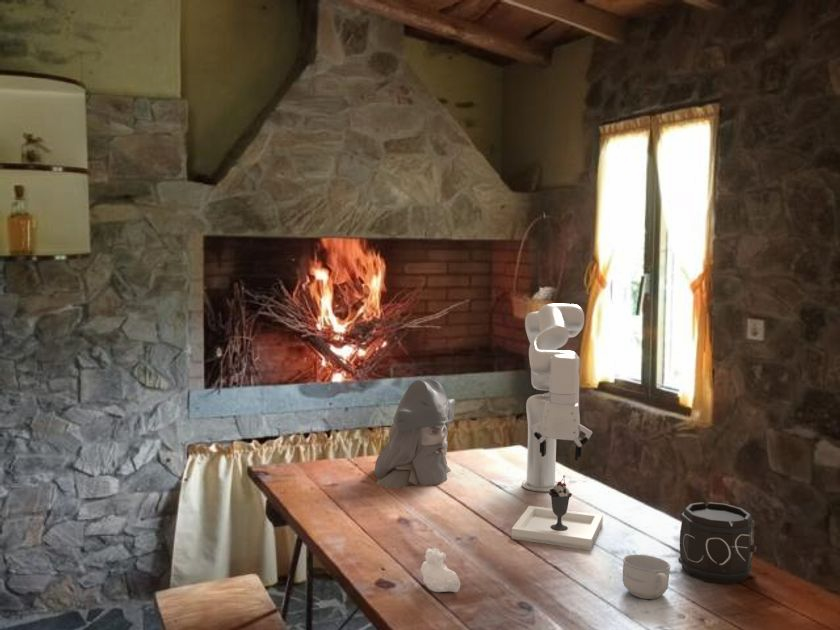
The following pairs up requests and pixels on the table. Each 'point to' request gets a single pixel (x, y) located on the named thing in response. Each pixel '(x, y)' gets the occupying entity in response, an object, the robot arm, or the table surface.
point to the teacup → (645, 575)
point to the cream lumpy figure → (438, 573)
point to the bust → (417, 438)
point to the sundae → (559, 503)
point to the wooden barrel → (716, 542)
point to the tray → (538, 529)
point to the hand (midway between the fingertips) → (560, 457)
